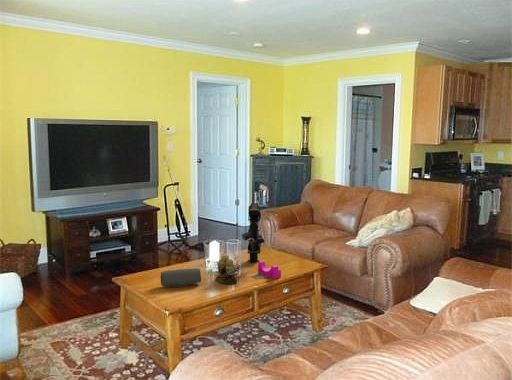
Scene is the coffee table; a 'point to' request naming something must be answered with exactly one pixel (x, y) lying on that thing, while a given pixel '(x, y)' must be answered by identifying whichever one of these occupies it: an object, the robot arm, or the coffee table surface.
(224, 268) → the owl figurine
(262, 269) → the toy block
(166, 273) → the bluetooth speaker
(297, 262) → the coffee table surface
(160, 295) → the coffee table surface
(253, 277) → the mat
